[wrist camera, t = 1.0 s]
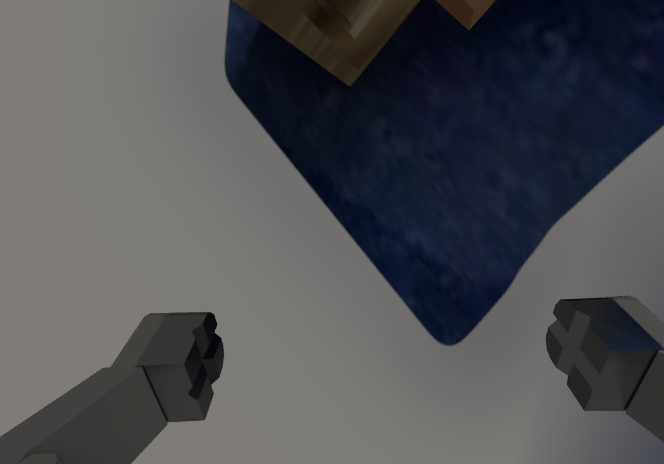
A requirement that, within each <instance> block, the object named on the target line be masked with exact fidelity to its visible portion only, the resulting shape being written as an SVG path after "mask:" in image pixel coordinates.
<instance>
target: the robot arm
mask: <svg viewBox="0 0 664 464" xmlns="http://www.w3.org/2000/svg"><path fill="white" fill-rule="evenodd" d="M553 314H554V315H555V316H556V318H557V320H556V321H555V322H554V323H553V324H552V325H550V326H549V327H548V331H547V335H546V345H547V351H548V353H549V356H550V359H551V360H552V362H553V363H554V365H555V367H556V368H558V369H559V370H561V371H562V372H564V373H565V374H567V375H568V380H567V385H568V387H569V388H570V390H571V391H572V393H573V394H574V396H575V397H576V399H577V400H578V402H579V404H580V405H581V406H582V408H583V410H584V411H626V412H625V413H626V414H627V415H629V416H630V417H631V418H633V419H634V420H635V421H637V422H638V423H639V424H641V425H642V426H643V427H645V428H646V429H647V430H648V431H650V432H651V433H652V434H654V435H655V436H656V437H658V438H659V439H660V440H662V441H663V442H664V323H663V322H662V321H661V320H660V319H659V318H658V317H657V316H655V315H654V314H653V313H652V312H651V311H650V310H649V309H648V308H647V307H645V306H644V305H643V304H642V303H641V302H640V301H639V300H638V299H636V298H633V297H631V296H618V297H605V298H584V299H561V300H559V302H558V303H557V304H556V305H555V308H554V311H553ZM216 327H217V322H216V319H215V316H214V314H212V313H211V312H196V313H195V312H190V313H150V314H148V315H147V316H145V317H144V318H143V320H142V321H141V323H140V324H139V326H138V327H137V329H136V330H135V331H134V333H133V335H132V336H131V338H130V339H129V340H128V342H127V343H126V345H125V346H124V348H123V349H122V351H121V352H120V354H119V355H118V357H117V358H116V360H115V361H114V363H113V365H112V366H111V367H109V368H102V369H101V370H99V371H98V372H96V373H95V374H93V375H92V376H90V377H89V378H88V379H86V380H85V381H83V382H82V383H80V384H79V385H77V386H76V387H74V388H73V389H71V390H70V391H68V392H67V393H65V394H64V395H62V396H61V397H59V398H58V399H56V400H55V401H53V402H52V403H50V404H49V405H47V406H46V407H44V408H43V409H41V410H40V411H38V412H37V413H35V414H34V415H32V416H31V417H29V418H28V419H26V420H25V421H23V422H22V423H20V424H19V425H17V426H16V427H14V428H13V429H11V430H10V431H8V432H7V433H5V434H4V435H2V436H1V437H0V464H131V463H132V462H133V461H134V460H135V459H136V457H138V455H139V454H140V453H141V452H142V451H143V450H144V449H145V448H146V447H147V446H148V445H149V444H150V443H151V442H152V441H153V439H154V438H155V437H156V436H157V435H158V434H159V433H160V432H161V431H162V430H163V429H164V427H166V426H167V422H180V421H199V420H205V418H206V415H207V412H208V409H209V406H210V403H211V400H212V398H213V394H214V393H213V390H212V387H211V384H213V382H215V381H216V380H217V379H218V378H219V377H220V373H221V370H222V367H223V358H224V349H223V343H222V339H221V337H219V336H218V335H217V334H216V333H214V332H215V329H216Z"/></svg>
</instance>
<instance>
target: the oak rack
mask: <svg viewBox="0 0 664 464" xmlns="http://www.w3.org/2000/svg"><path fill="white" fill-rule="evenodd" d="M233 1H234V2H235V3H236V4H238V5H239V6H241V7H242V8H243V9H245V10H246V11H247V12H249V13H250V14H251V15H253V16H254V17H256V18H257V19H258V20H260V21H261V22H262V23H264V24H265V25H266V26H268V27H269V28H270V29H272V30H273V31H275V32H276V33H277V34H279V35H280V36H281V37H283V38H284V39H285V40H287V41H288V42H290V43H291V44H292V45H294V46H295V47H296V48H298V49H299V50H300V51H302V52H303V53H304V54H306V55H307V56H309V57H310V58H311V59H313V60H314V61H315V62H317V63H318V64H319V65H321V66H322V67H323V68H325V69H326V70H328V71H329V72H330V73H332V74H333V75H334V76H336V77H337V78H338V79H340V80H341V81H343V82H344V83H345V84H347V85H348V86H349V87H351V86H352V85H353V83H354V82H355V81H356V80H357V78H358V77H359V76H360V75H361V73H362V72H363V71H364V70H365V68H366V67H367V66H368V65H369V64H370V62H371V61H372V60H373V59H374V57H375V56H376V55H377V54H378V52H379V51H380V50H381V49H382V47H383V46H384V45H385V44H386V42H387V41H388V40H389V39H390V37H391V36H392V35H393V34H394V33H395V31H396V30H397V29H398V28H399V26H400V25H401V24H402V23H403V21H404V20H405V19H406V18H407V16H408V15H409V14H410V13H411V11H412V10H413V9H414V8H415V6H416V5H417V4H418V3H419V2H420V0H384V1H383V2H382V3H381V4H380V6H379V7H378V8H377V10H376V11H375V12H374V14H373V15H372V16H371V17H370V19H369V20H368V21H367V23H366V24H365V25H364V27H363V28H362V29H361V30H360V32H359V33H358V34H357V36H356V37H355V38H352V37H351V36H350V35H349V34H348V33H347V32H346V31H345V30H344V29H343V28H342V27H341V26H340V25H339V24H337V23H336V22H335V21H334V20H333V19H332V18H331V17H330V16H329V15H328V14H327V13H326V12H325V11H324V10H322V9H321V8H320V7H319V6H318V5H317V4H316V3H315V2H314V1H313V0H233Z"/></svg>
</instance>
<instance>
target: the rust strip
mask: <svg viewBox="0 0 664 464" xmlns="http://www.w3.org/2000/svg"><path fill="white" fill-rule="evenodd" d="M436 1H437V2H438V3H439V4H440V5H441V6H443V7H444V8H445V9H446V10H447V11H448V12H449V13H450V14H451V15H452V16H454V17H455V18H456V19H457V20H458V21H459V22H460V23H461V24H462V25H463V26H465V27H466V28H467V29H468V30H470V29H471V28H472V27H473V25H474V24H475V23H476V22H477V21H478V20H479V19H480V18H481V16H482V15H483V14H484V13H485V12H486V11H487V10H488V8H489V7H490V6H491V5H492V4H493V3H494V2H495V1H496V0H436Z"/></svg>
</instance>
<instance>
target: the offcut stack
mask: <svg viewBox="0 0 664 464" xmlns="http://www.w3.org/2000/svg"><path fill="white" fill-rule="evenodd" d="M313 1H314V2H315V3H316V4H317V5H318V6H319V7H320V8H321V9H322V10H324V11H325V12H326V13H327V14H328V15H329V16H330V17H331V18H332V19H333V20H334V21H335V22H336V23H337V24H339V25H340V26H341V27H342V28H343V29H344V30H345V31H346V32H347V33H348V34H349V35H350V36H351V37H352V38H355V37H356V36H357V34H358V33H359V32H360V30H361V29H362V28H363V27H364V25H365V24H366V23H367V21H368V20H369V19H370V17H371V16H372V15H373V14H374V12H375V11H376V10H377V8H378V7H379V6H380V4H381V3H382V2H383V1H384V0H313Z"/></svg>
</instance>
